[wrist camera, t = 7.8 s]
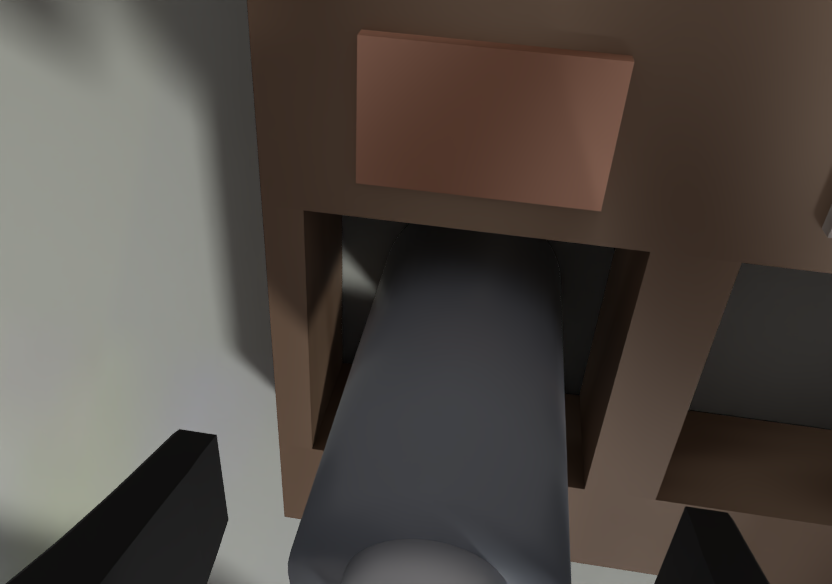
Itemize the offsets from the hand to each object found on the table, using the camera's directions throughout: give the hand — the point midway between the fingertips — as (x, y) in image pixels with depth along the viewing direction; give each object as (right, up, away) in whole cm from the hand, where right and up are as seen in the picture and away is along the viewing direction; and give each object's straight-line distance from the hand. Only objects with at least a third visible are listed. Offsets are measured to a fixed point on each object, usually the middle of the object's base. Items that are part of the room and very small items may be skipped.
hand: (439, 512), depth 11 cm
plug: (+1, +4, +5) cm, 7 cm away
